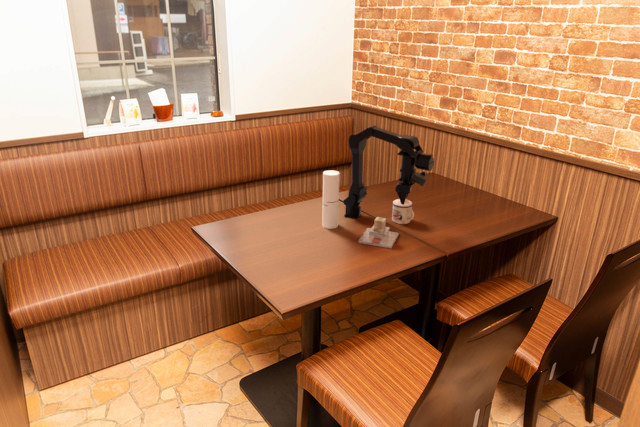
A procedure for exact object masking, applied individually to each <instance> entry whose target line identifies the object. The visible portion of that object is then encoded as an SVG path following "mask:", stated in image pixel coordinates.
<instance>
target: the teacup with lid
mask: <svg viewBox="0 0 640 427" xmlns="http://www.w3.org/2000/svg"><path fill="white" fill-rule="evenodd" d="M412 208H413V201H411V200H410V199H408V198H406V199H405V203H404V205H403V204H401V202H400V199H399V198H397V199H395V200H393V201H392V211H391V221H392V222H393V223H394V224H399V225H406V224H407V225H408V224H409V223H410V222H411V220H413V219H414V217H415V212H414V210H413V209H412Z"/></svg>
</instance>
